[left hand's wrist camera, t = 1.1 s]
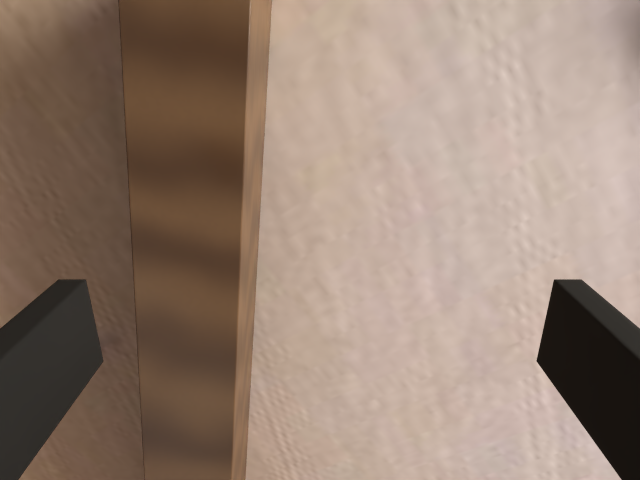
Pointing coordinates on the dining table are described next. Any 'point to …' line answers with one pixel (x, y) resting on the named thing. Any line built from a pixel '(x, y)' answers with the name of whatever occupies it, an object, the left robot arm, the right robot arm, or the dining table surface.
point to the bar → (195, 223)
